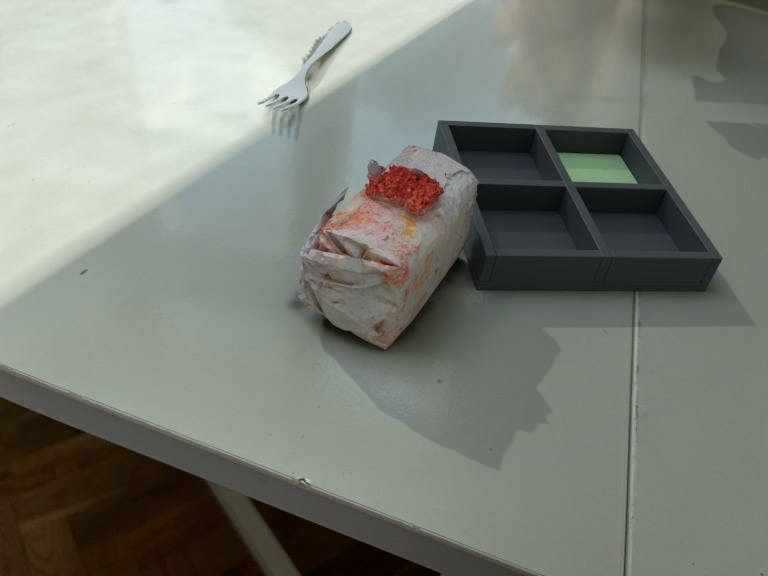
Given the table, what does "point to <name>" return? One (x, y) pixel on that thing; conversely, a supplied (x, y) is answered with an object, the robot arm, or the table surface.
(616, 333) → the table surface
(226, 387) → the table surface
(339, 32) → the fork
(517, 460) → the table surface
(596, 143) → the dark grey compartment tray
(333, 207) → the food item
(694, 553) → the table surface
